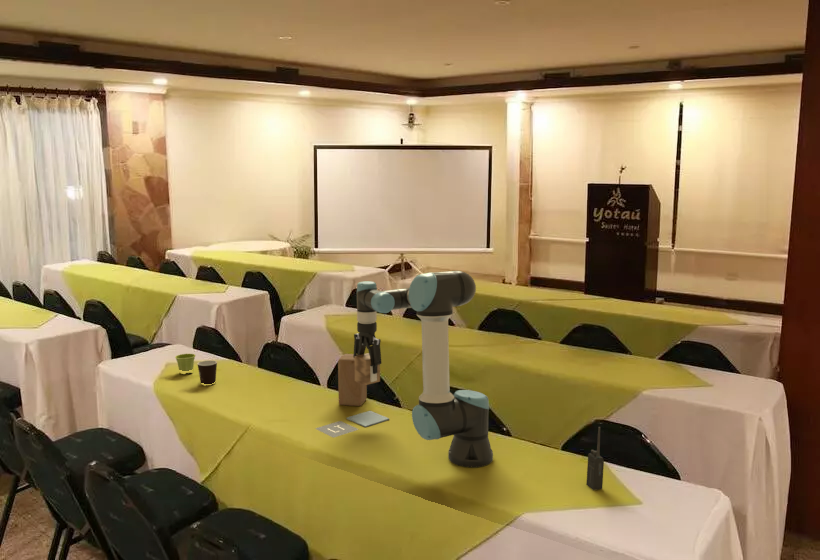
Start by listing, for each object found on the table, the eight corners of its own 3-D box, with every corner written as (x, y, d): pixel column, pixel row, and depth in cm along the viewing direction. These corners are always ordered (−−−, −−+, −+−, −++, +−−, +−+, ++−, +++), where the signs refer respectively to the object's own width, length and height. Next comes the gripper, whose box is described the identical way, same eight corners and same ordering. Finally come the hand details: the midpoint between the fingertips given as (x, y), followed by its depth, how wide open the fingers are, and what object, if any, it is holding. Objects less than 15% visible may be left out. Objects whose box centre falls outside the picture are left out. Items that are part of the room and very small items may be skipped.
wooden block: (361, 407, 277) (360, 360, 274) (338, 405, 279) (337, 359, 276) (367, 399, 287) (366, 354, 283) (345, 397, 289) (344, 352, 285)
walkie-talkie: (603, 489, 205) (606, 427, 201) (593, 490, 204) (597, 428, 201) (595, 482, 209) (598, 421, 206) (585, 484, 208) (588, 423, 205)
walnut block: (379, 381, 260) (379, 356, 259) (365, 385, 256) (365, 359, 254) (368, 377, 265) (368, 353, 264) (354, 380, 261) (354, 356, 259)
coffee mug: (214, 386, 303) (213, 365, 301) (195, 386, 303) (194, 365, 302) (222, 379, 314) (221, 358, 313) (203, 379, 315) (203, 358, 313)
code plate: (359, 429, 252) (359, 429, 252) (333, 437, 244) (333, 437, 244) (340, 421, 261) (340, 420, 261) (314, 428, 253) (314, 428, 253)
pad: (389, 419, 262) (389, 418, 262) (365, 427, 254) (365, 426, 254) (370, 411, 271) (370, 410, 271) (346, 419, 263) (346, 417, 263)
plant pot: (172, 375, 320) (171, 358, 319) (182, 370, 329) (181, 353, 328) (190, 376, 318) (189, 359, 317) (199, 371, 328) (198, 353, 326)
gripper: (391, 324, 252) (391, 382, 255) (358, 316, 266) (359, 371, 270) (375, 327, 247) (376, 387, 250) (343, 318, 261) (344, 375, 265)
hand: (367, 378), depth 260 cm, fingers closed on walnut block, 7 cm apart
